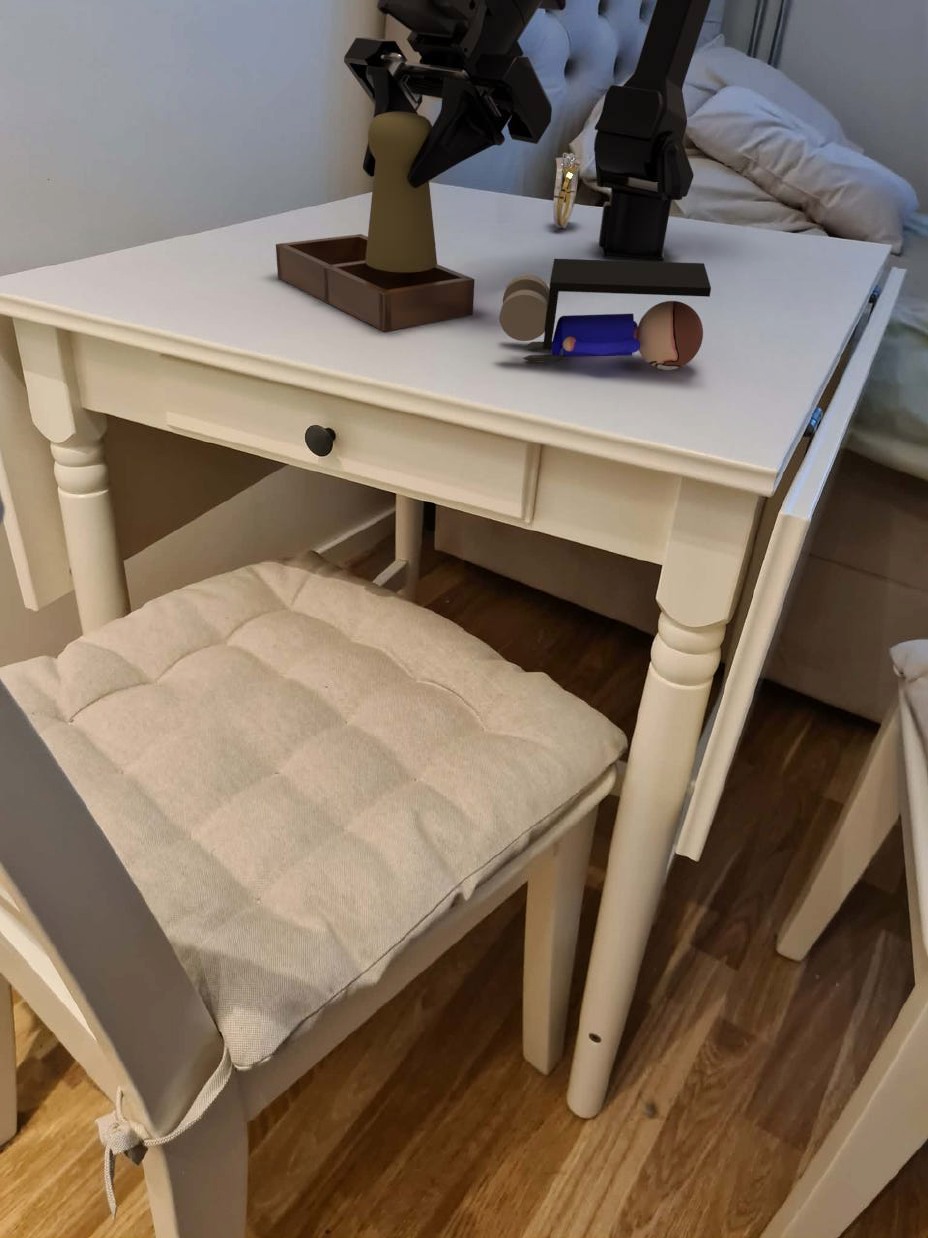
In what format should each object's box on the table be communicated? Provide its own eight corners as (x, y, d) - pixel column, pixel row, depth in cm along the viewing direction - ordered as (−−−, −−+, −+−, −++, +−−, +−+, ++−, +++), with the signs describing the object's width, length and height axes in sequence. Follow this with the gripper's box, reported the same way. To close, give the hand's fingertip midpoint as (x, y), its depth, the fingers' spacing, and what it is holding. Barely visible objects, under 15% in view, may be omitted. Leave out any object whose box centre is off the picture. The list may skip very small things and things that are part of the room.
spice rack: (361, 266, 87) (361, 233, 85) (473, 314, 76) (475, 278, 74) (277, 277, 82) (275, 243, 80) (383, 331, 71) (383, 293, 69)
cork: (447, 258, 76) (451, 111, 69) (422, 276, 71) (424, 120, 65) (381, 249, 77) (380, 105, 71) (353, 266, 73) (348, 113, 66)
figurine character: (500, 387, 66) (704, 382, 65) (495, 282, 62) (715, 274, 60) (506, 357, 72) (695, 352, 70) (502, 259, 68) (704, 251, 66)
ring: (565, 235, 102) (574, 158, 98) (539, 231, 103) (547, 154, 99) (582, 224, 108) (591, 150, 103) (557, 220, 109) (565, 147, 104)
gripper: (358, -89, 68) (251, 83, 68) (542, -89, 58) (416, 114, 58) (430, 33, 77) (336, 185, 77) (600, 52, 67) (491, 227, 67)
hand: (388, 177), depth 70 cm, fingers closed on cork, 5 cm apart
